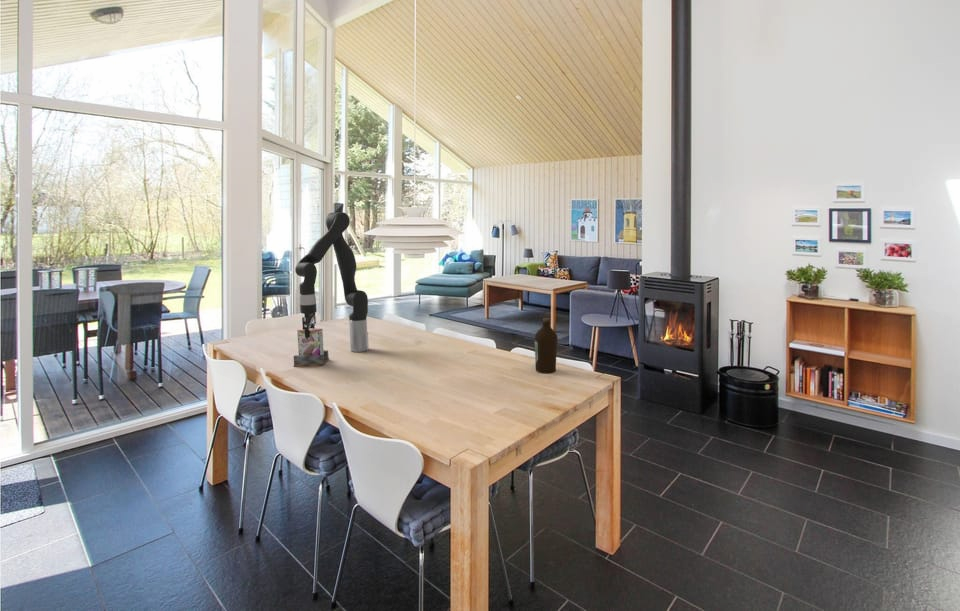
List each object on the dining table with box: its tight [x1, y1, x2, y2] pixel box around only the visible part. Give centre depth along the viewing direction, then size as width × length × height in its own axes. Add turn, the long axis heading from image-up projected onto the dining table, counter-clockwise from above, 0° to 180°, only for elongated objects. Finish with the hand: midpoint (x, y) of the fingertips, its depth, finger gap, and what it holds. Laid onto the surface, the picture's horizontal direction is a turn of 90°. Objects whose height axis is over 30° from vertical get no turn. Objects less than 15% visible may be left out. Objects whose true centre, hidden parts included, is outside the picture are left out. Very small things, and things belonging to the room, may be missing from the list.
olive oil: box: [534, 317, 559, 374], centre depth 233 cm, size 11×11×25 cm
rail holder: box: [293, 349, 330, 368], centre depth 249 cm, size 14×12×5 cm
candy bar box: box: [296, 327, 324, 355], centre depth 248 cm, size 11×5×16 cm, turn 86°
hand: (310, 335), depth 247 cm, fingers open, 8 cm apart
